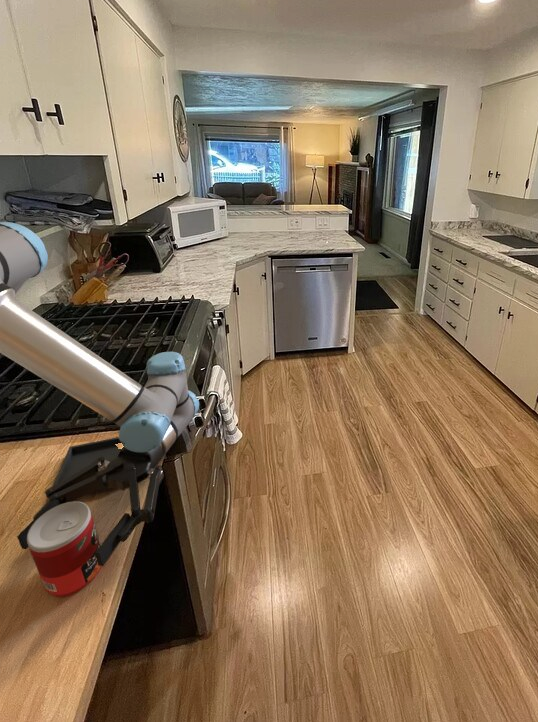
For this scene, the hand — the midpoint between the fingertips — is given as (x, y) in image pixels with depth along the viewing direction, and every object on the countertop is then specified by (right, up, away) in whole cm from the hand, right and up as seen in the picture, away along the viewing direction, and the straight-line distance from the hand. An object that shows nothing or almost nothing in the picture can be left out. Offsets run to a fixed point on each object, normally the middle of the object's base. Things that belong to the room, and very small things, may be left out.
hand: (59, 551), depth 54 cm
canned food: (0, -6, +4) cm, 7 cm away
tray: (-8, +1, +22) cm, 24 cm away
